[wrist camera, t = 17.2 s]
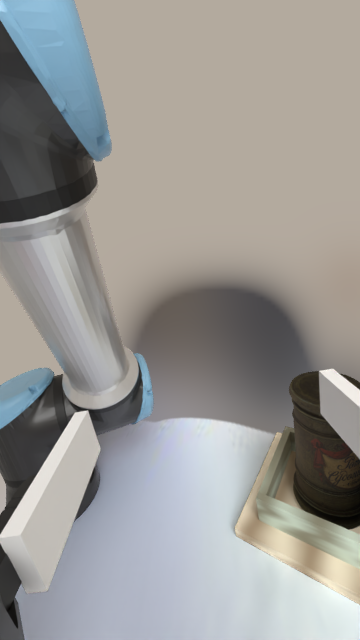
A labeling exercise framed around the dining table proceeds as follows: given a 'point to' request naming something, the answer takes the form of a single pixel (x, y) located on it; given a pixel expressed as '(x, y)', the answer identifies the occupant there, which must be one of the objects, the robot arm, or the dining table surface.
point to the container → (323, 459)
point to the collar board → (298, 525)
